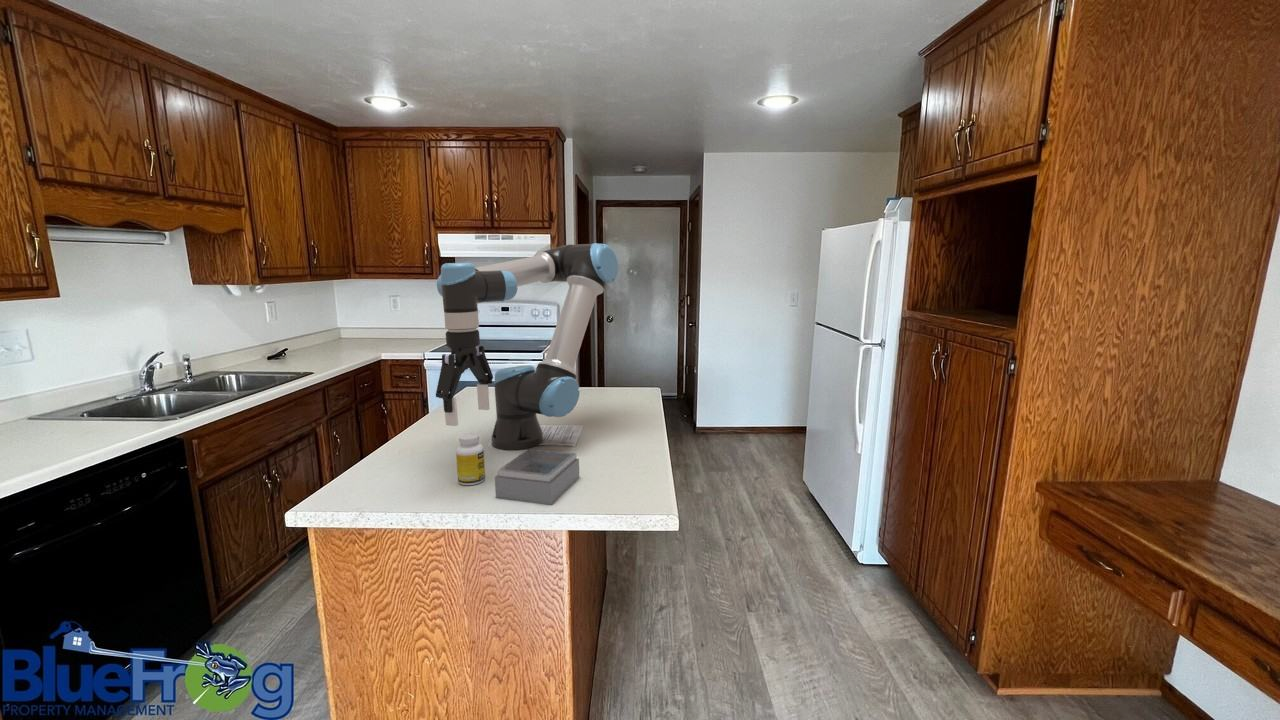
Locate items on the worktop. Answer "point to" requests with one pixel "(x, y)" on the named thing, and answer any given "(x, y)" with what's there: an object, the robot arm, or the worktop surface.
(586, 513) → the worktop surface
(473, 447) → the pill bottle
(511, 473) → the square metal tray
